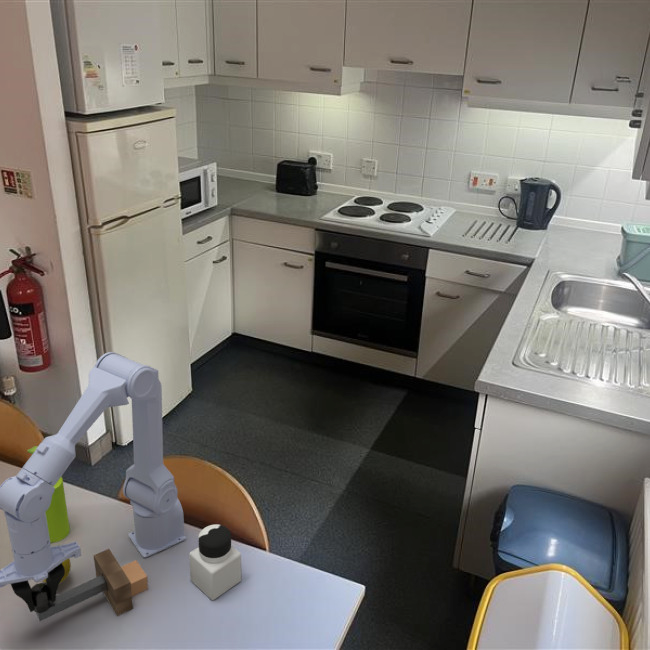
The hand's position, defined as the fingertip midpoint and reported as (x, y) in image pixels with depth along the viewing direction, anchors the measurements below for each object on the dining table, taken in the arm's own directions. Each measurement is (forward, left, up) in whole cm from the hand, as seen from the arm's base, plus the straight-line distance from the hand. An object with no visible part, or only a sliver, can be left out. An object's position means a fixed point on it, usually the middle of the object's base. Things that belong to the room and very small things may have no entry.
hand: (41, 602), depth 110 cm
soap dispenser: (-8, -23, -6) cm, 25 cm away
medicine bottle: (-29, +8, -6) cm, 31 cm away
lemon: (-5, -9, -6) cm, 12 cm away
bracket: (-12, 0, -6) cm, 14 cm away
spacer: (-16, 0, -6) cm, 17 cm away
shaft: (-6, 0, -3) cm, 7 cm away
